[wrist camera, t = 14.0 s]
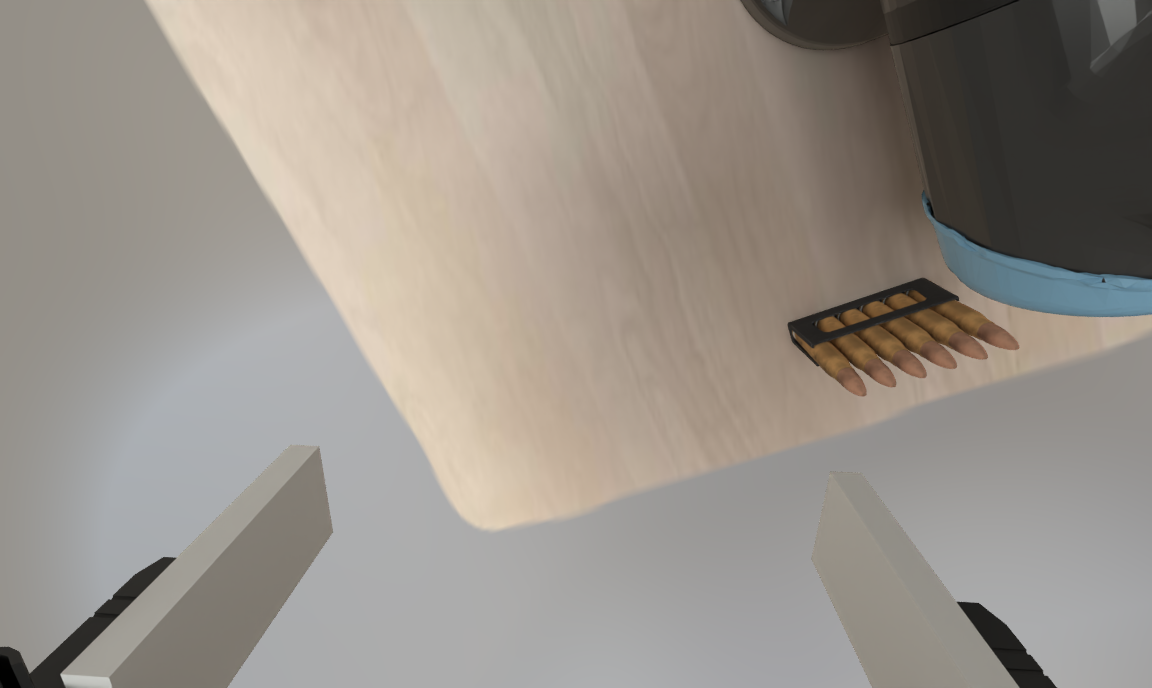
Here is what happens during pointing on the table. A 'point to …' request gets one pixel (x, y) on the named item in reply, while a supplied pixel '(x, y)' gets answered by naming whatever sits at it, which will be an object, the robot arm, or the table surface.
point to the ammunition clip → (895, 334)
